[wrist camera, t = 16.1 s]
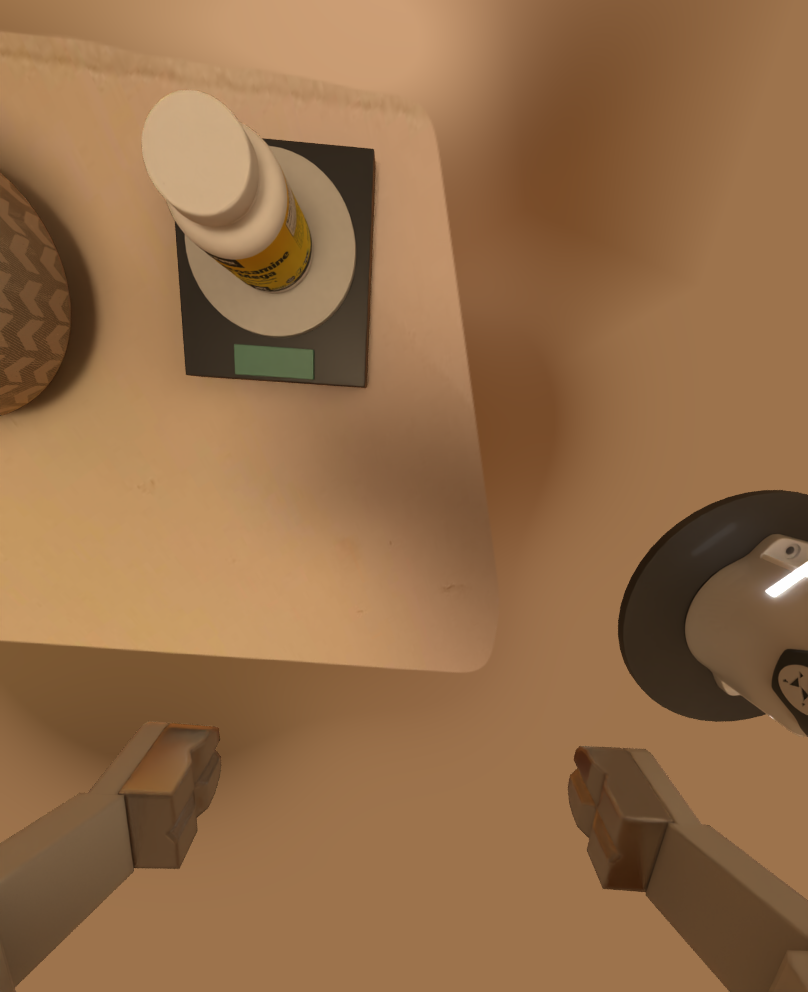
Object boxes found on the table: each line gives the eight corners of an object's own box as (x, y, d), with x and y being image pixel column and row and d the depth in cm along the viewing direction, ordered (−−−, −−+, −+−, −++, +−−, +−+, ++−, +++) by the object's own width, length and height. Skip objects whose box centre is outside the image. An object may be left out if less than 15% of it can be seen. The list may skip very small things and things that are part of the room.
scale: (375, 168, 29) (373, 141, 26) (366, 387, 33) (364, 387, 30) (185, 150, 29) (160, 120, 25) (200, 376, 32) (180, 374, 29)
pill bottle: (233, 297, 28) (136, 236, 17) (220, 198, 27) (105, 65, 16) (319, 294, 28) (274, 232, 18) (311, 196, 27) (257, 63, 16)
